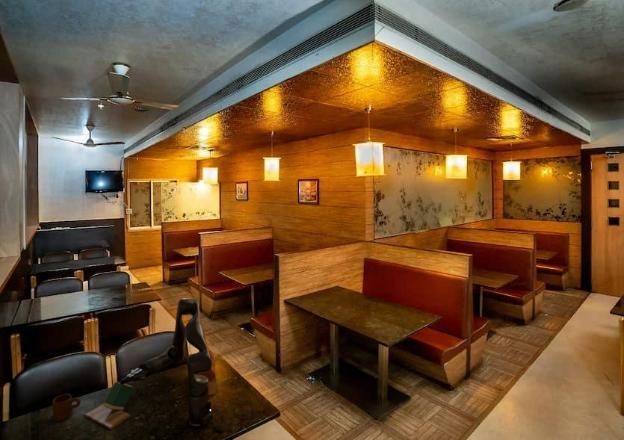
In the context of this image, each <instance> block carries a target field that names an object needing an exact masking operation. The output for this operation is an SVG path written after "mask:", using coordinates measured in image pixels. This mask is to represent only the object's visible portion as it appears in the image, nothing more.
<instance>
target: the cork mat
mask: <svg viewBox="0 0 624 440" xmlns="http://www.w3.org/2000/svg"><path fill="white" fill-rule="evenodd" d="M103 405H104V403H103V404H100V405H99V406H97V407H95V408H94V409H92V410H89V411H88V412H86V413H85V414H84V416H85V417H86V418H89V419H90V420H92V421H94V422H96V423H97V424H100V425H101V426H103V427H105V428H107V429H108V430H112V429H114V428H116V427H118V426H119V425H120V424H121V423H123V422H125V421H126V420H129V419H130V418H131V417H132V415H131V414H129V413H127V412H125V411H124V410H113V409H109V408H107V407H105V406H103Z"/></svg>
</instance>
